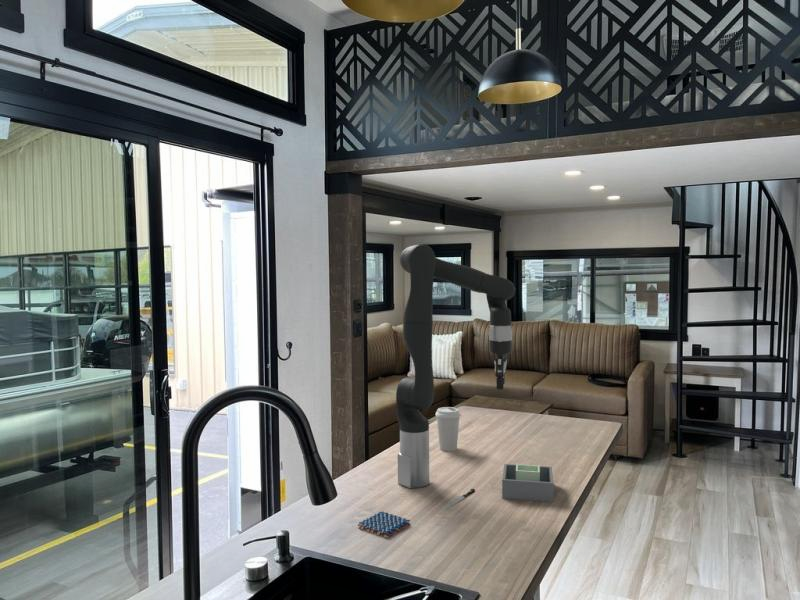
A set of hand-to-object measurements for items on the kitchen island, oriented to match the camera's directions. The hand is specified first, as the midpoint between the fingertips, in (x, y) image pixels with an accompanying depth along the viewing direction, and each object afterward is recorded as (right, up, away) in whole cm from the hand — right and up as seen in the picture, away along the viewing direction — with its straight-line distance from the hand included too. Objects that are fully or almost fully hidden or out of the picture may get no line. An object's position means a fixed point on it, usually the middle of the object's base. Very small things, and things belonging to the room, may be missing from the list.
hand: (500, 386), depth 194 cm
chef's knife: (-17, -30, -24) cm, 42 cm away
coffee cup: (-16, -27, +25) cm, 40 cm away
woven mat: (-38, -31, -42) cm, 64 cm away
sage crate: (+5, -28, -18) cm, 34 cm away
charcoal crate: (+5, -29, -18) cm, 35 cm away
